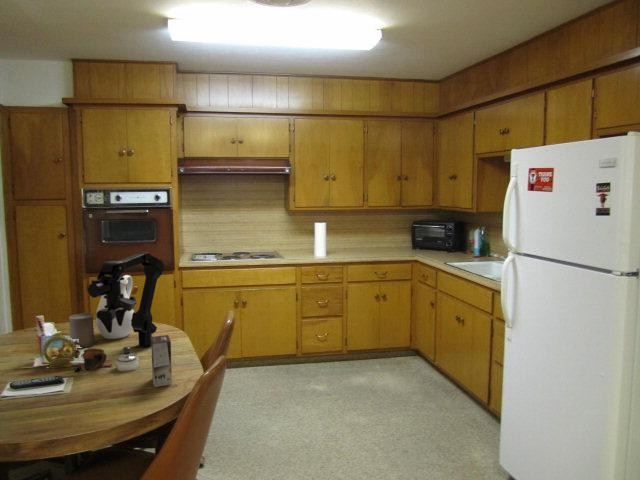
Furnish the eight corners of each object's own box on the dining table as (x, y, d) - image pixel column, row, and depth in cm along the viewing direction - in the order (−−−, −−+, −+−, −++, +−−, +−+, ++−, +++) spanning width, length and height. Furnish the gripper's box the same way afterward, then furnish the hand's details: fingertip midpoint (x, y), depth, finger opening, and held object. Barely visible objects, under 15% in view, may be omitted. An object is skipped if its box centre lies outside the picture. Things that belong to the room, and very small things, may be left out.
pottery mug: (73, 371, 192) (76, 349, 195) (92, 374, 200) (95, 353, 203) (97, 367, 188) (99, 345, 191) (115, 370, 196) (117, 349, 199)
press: (125, 361, 201) (125, 353, 201) (145, 362, 200) (144, 353, 200) (112, 371, 190) (112, 362, 190) (132, 371, 190) (132, 363, 189)
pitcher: (122, 342, 226) (119, 282, 223) (88, 339, 229) (86, 281, 226) (148, 327, 249) (147, 273, 246) (118, 325, 252) (116, 272, 249)
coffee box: (172, 384, 178) (171, 341, 176) (153, 387, 175) (152, 343, 173) (169, 375, 186) (168, 334, 184) (151, 378, 184) (150, 336, 182)
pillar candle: (99, 342, 225) (97, 310, 223) (85, 349, 215) (83, 316, 214) (79, 341, 226) (78, 309, 225) (65, 348, 217) (63, 315, 215)
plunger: (123, 354, 198) (122, 344, 197) (140, 355, 197) (139, 345, 196) (114, 360, 190) (113, 350, 190) (131, 361, 190) (131, 350, 189)
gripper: (122, 298, 192) (124, 336, 194) (141, 287, 211) (143, 323, 213) (94, 297, 193) (96, 336, 195) (116, 287, 211) (118, 322, 213)
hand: (115, 329), depth 204 cm, fingers open, 9 cm apart
